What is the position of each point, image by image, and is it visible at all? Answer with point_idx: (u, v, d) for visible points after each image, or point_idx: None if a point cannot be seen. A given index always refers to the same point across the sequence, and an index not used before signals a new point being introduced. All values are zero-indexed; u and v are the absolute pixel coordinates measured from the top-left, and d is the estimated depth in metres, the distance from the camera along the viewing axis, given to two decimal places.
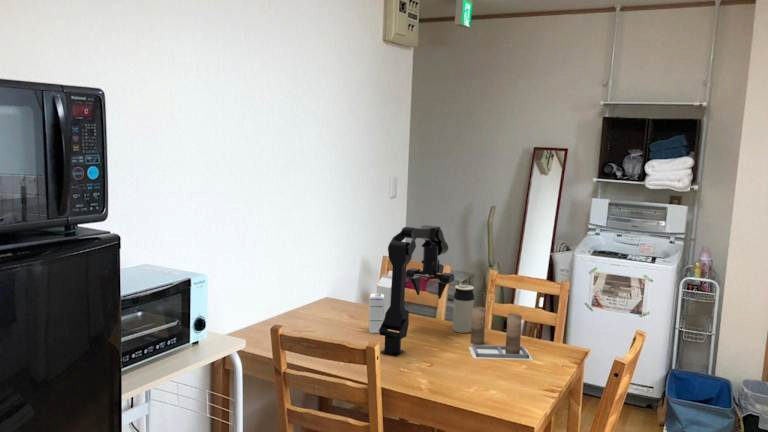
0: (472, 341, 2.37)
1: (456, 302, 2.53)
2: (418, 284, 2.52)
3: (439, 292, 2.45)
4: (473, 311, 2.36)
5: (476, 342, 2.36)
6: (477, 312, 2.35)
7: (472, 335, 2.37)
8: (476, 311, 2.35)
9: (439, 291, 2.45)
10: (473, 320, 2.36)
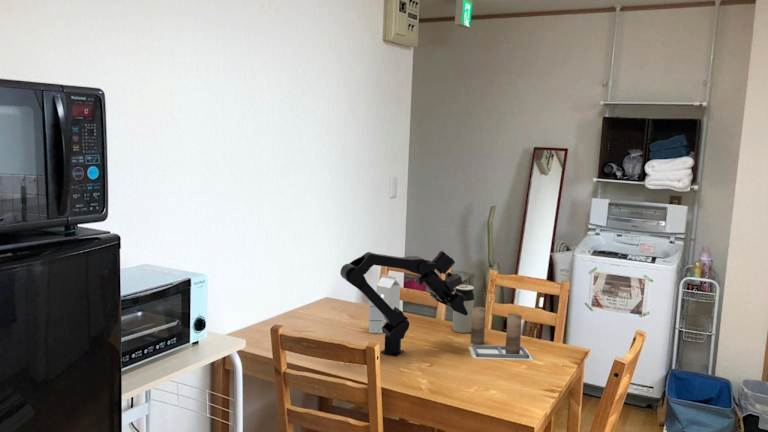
0: (472, 341, 2.37)
1: None
2: (449, 300, 2.38)
3: None
4: (473, 311, 2.36)
5: (476, 342, 2.36)
6: (477, 312, 2.35)
7: (472, 335, 2.37)
8: (476, 311, 2.35)
9: (459, 312, 2.28)
10: (473, 320, 2.36)
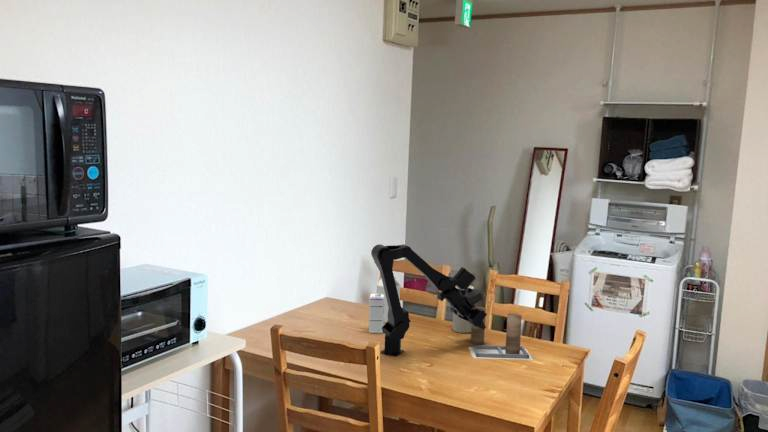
0: (472, 341, 2.37)
1: None
2: None
3: None
4: None
5: (476, 342, 2.36)
6: None
7: (472, 335, 2.37)
8: None
9: (477, 326, 2.34)
10: None
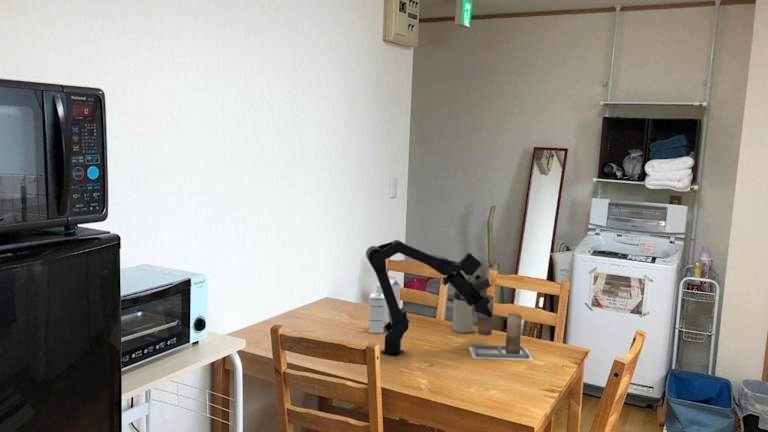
0: (479, 329, 2.30)
1: (456, 302, 2.53)
2: None
3: (484, 314, 2.27)
4: None
5: (483, 330, 2.29)
6: None
7: (479, 323, 2.30)
8: None
9: (483, 314, 2.27)
10: None
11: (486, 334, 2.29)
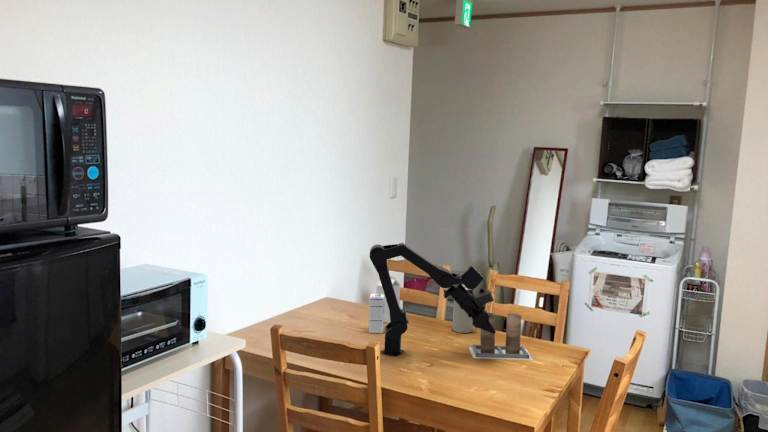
0: (481, 348, 2.26)
1: None
2: None
3: (486, 330, 2.21)
4: None
5: (484, 349, 2.24)
6: None
7: (481, 342, 2.26)
8: None
9: None
10: None
11: None
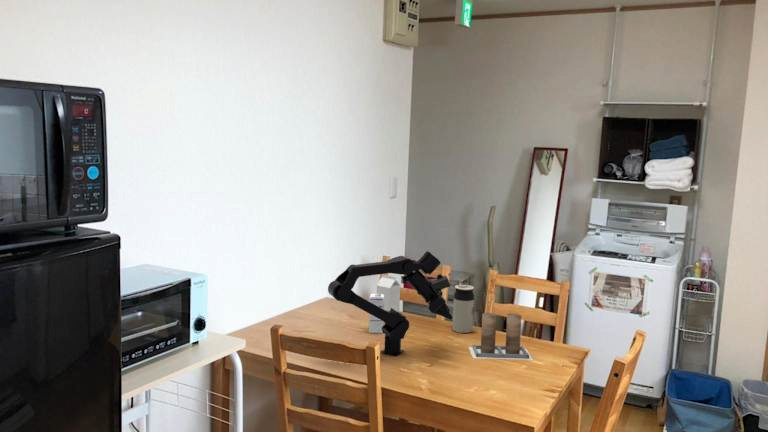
0: (481, 348, 2.26)
1: (456, 302, 2.53)
2: None
3: None
4: (482, 317, 2.25)
5: (485, 350, 2.24)
6: (485, 318, 2.23)
7: (481, 342, 2.26)
8: (484, 317, 2.24)
9: None
10: (482, 326, 2.25)
11: None
